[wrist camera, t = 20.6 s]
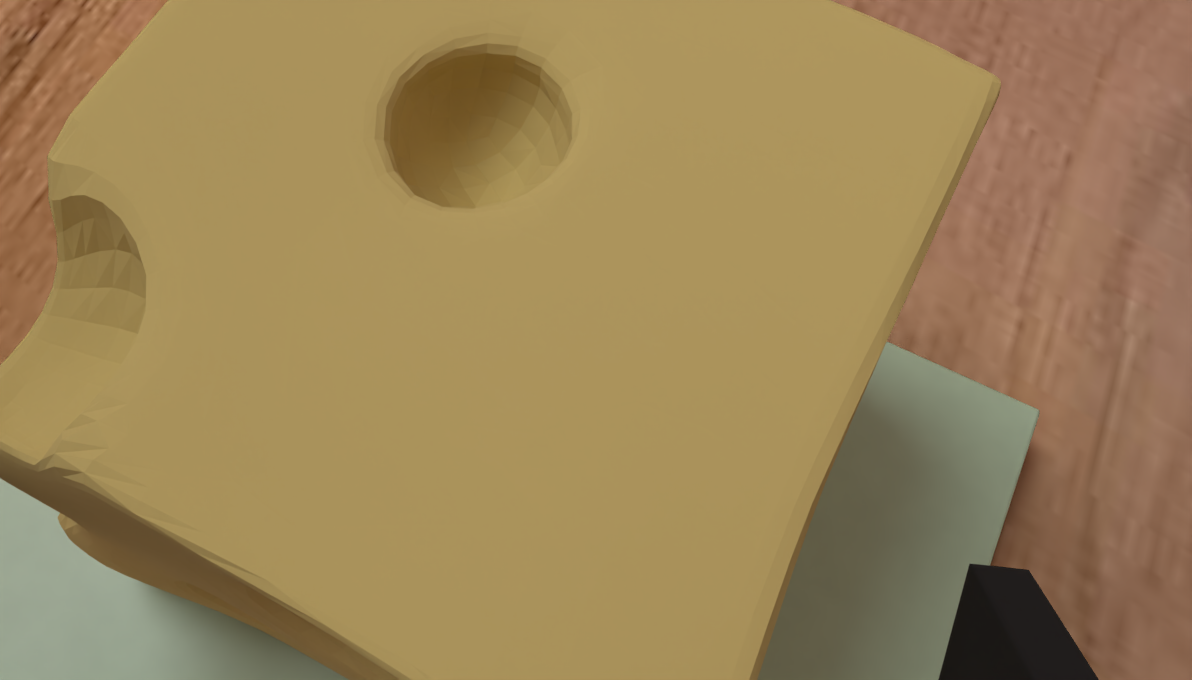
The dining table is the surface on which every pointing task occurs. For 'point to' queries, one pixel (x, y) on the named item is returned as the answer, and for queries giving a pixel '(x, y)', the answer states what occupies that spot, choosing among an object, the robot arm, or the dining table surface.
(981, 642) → the robot arm
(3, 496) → the board
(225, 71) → the cheese
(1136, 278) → the dining table surface
